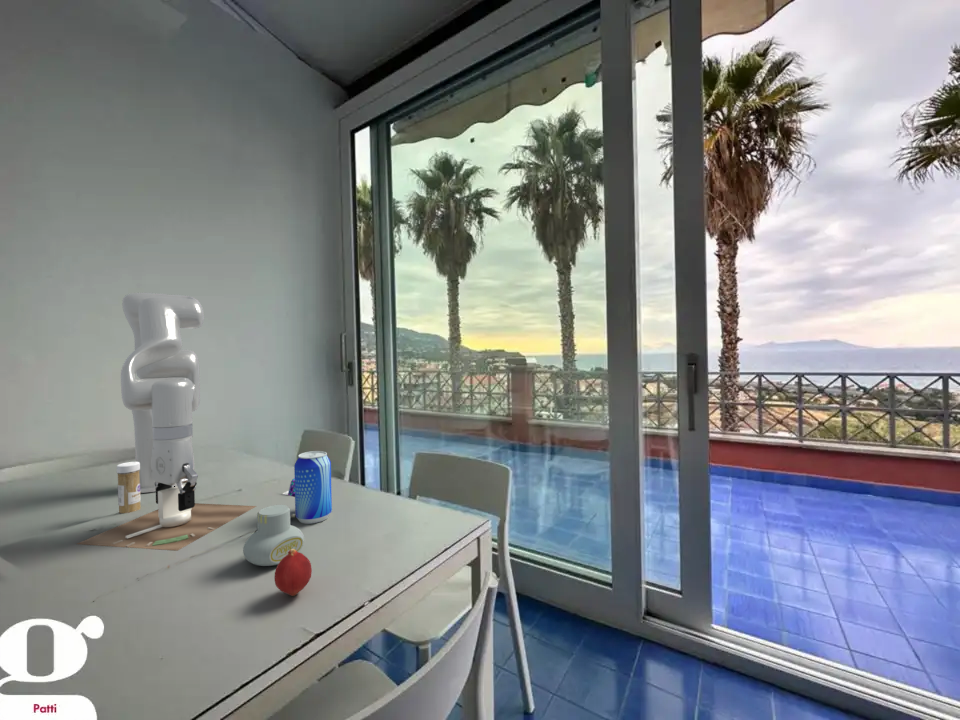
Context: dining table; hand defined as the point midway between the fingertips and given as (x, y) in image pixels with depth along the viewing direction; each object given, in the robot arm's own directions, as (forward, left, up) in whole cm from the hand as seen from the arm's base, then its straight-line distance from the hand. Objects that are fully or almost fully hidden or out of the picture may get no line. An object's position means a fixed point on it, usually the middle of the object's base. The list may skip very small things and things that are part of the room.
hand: (175, 505), depth 98 cm
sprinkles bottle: (-6, -19, -6) cm, 21 cm away
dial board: (0, 0, -6) cm, 6 cm away
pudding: (-25, +17, -6) cm, 31 cm away
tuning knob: (+3, -1, -4) cm, 5 cm away
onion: (+21, +43, -6) cm, 48 cm away
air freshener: (+10, +32, -6) cm, 34 cm away
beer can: (-10, +29, -6) cm, 31 cm away
